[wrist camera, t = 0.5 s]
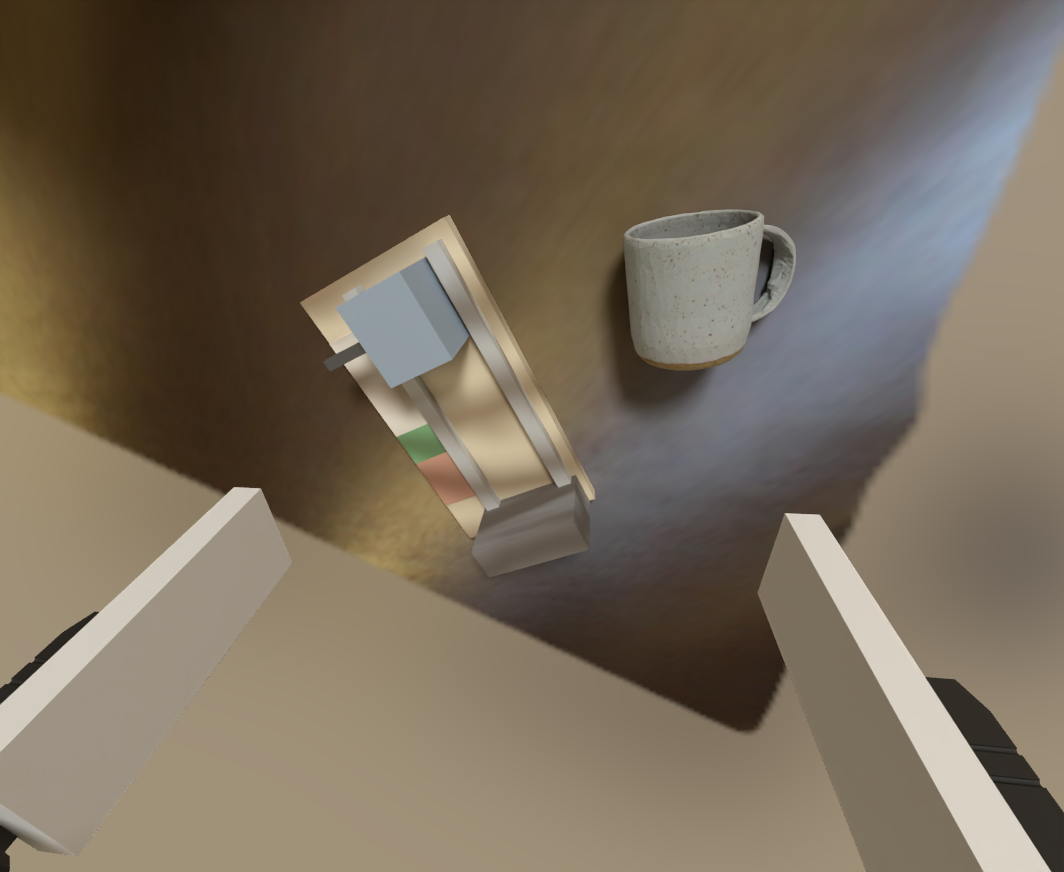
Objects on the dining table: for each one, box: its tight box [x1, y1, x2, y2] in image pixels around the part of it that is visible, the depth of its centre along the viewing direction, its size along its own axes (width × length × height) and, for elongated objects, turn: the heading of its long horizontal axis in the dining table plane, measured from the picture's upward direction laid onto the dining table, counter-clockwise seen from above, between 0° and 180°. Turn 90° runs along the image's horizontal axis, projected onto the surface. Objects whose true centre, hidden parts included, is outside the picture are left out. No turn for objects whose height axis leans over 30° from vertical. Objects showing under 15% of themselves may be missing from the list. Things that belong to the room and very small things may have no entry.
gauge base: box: [300, 215, 595, 577], centre depth 35 cm, size 25×13×7 cm, turn 27°
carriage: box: [323, 257, 470, 388], centre depth 31 cm, size 6×9×5 cm, turn 117°
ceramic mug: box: [623, 210, 796, 371], centre depth 28 cm, size 11×8×8 cm
